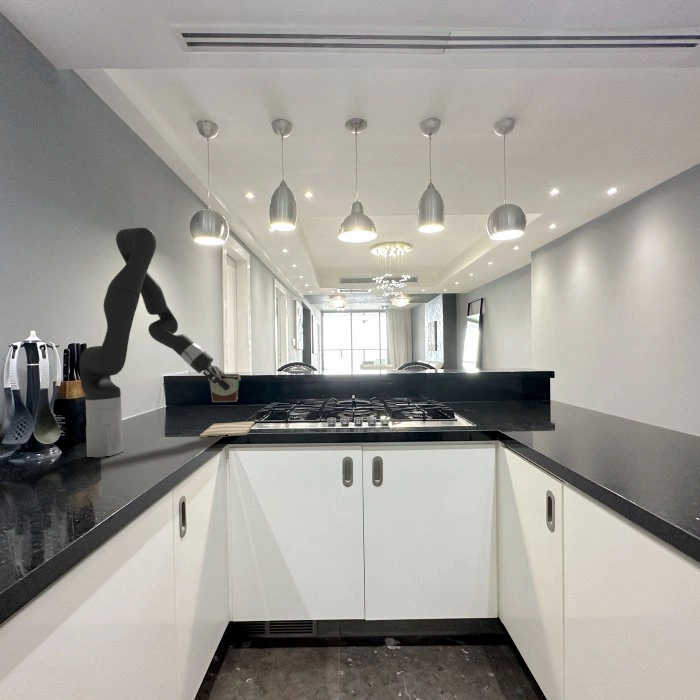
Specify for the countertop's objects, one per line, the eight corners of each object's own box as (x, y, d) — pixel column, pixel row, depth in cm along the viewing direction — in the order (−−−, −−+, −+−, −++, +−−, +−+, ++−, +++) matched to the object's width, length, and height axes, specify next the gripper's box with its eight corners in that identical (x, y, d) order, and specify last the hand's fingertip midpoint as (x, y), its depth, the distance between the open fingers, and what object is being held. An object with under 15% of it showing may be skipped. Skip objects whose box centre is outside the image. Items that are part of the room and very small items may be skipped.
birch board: (246, 434, 140) (246, 432, 139) (200, 437, 138) (199, 434, 138) (254, 423, 159) (254, 421, 159) (214, 426, 158) (214, 423, 158)
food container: (246, 399, 151) (245, 373, 151) (240, 401, 145) (239, 374, 145) (215, 399, 152) (215, 374, 152) (208, 402, 146) (207, 375, 146)
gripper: (198, 351, 140) (233, 382, 142) (209, 350, 155) (240, 378, 156) (183, 366, 140) (218, 397, 141) (195, 364, 154) (227, 392, 156)
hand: (230, 387), depth 149 cm, fingers closed on food container, 6 cm apart
